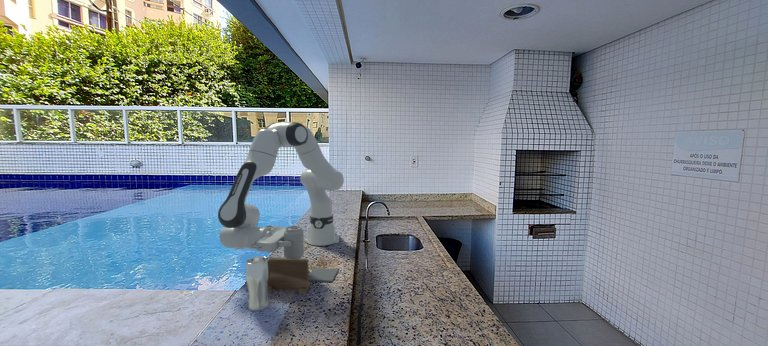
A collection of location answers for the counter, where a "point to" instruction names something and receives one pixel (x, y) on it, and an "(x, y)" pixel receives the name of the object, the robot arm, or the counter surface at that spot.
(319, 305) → the counter surface
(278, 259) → the walnut screen
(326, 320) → the counter surface
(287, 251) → the can
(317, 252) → the counter surface
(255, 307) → the beer glass
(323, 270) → the slate mat
